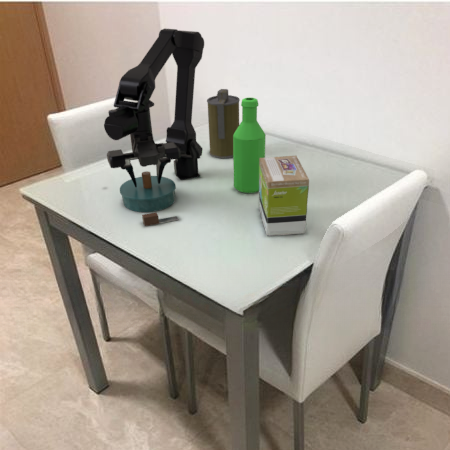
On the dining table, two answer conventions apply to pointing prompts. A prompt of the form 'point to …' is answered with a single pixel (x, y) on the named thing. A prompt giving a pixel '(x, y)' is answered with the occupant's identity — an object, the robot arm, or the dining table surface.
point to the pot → (149, 203)
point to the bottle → (248, 148)
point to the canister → (222, 123)
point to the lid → (147, 188)
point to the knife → (155, 219)
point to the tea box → (283, 195)
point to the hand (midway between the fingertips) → (147, 185)
